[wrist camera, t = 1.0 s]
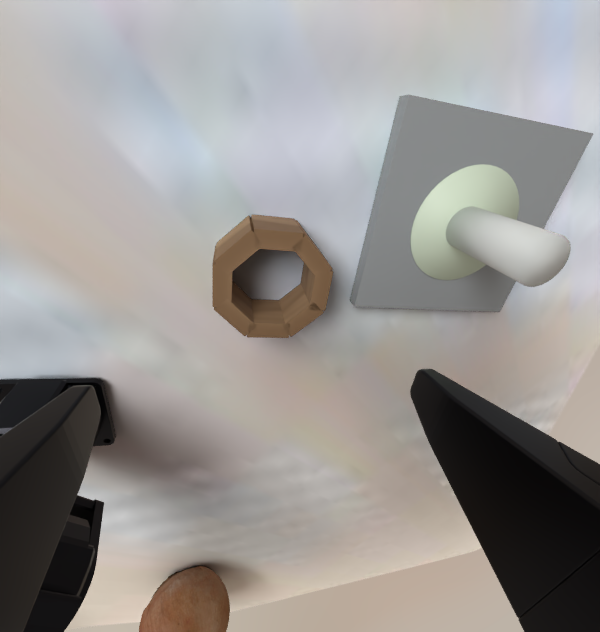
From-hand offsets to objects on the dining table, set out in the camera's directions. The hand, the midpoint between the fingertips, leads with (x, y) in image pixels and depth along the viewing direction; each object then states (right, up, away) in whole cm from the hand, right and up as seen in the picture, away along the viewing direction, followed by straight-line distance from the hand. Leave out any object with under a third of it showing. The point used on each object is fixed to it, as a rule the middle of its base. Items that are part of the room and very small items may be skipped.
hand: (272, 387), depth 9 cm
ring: (-1, +5, +11) cm, 12 cm away
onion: (-13, -30, +30) cm, 44 cm away
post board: (+11, +8, +12) cm, 18 cm away
